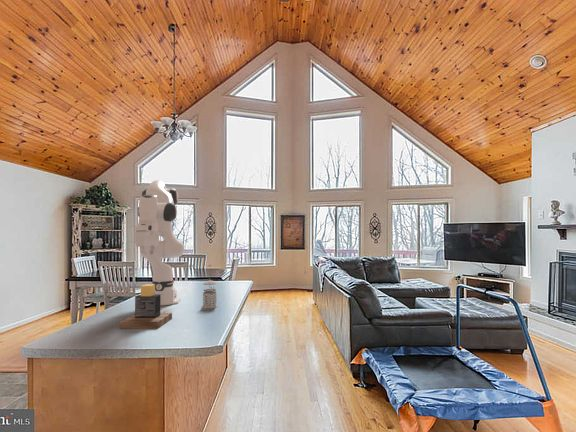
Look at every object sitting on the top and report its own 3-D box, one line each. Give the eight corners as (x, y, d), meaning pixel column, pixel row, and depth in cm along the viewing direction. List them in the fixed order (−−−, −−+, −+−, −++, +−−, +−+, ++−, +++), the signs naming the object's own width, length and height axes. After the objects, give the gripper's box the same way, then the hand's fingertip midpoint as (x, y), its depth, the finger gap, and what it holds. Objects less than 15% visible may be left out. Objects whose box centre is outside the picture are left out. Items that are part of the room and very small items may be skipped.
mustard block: (144, 294, 175) (145, 284, 175) (154, 294, 175) (155, 284, 175) (140, 296, 170) (140, 285, 170) (150, 296, 170) (150, 285, 170)
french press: (214, 304, 216) (214, 263, 217) (222, 307, 206) (222, 264, 207) (198, 306, 210) (198, 264, 211) (206, 309, 201) (206, 265, 202)
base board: (137, 318, 181) (137, 312, 181) (172, 318, 180) (172, 312, 181) (119, 328, 163) (120, 321, 163) (158, 328, 162) (158, 321, 163)
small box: (161, 314, 176) (161, 293, 176) (155, 318, 169) (155, 296, 170) (140, 314, 176) (140, 293, 177) (134, 318, 170) (134, 296, 170)
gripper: (150, 227, 184) (150, 253, 183) (132, 226, 164) (132, 256, 163) (162, 227, 184) (162, 253, 183) (146, 226, 163) (145, 256, 163)
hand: (148, 255), depth 173 cm, fingers open, 8 cm apart
